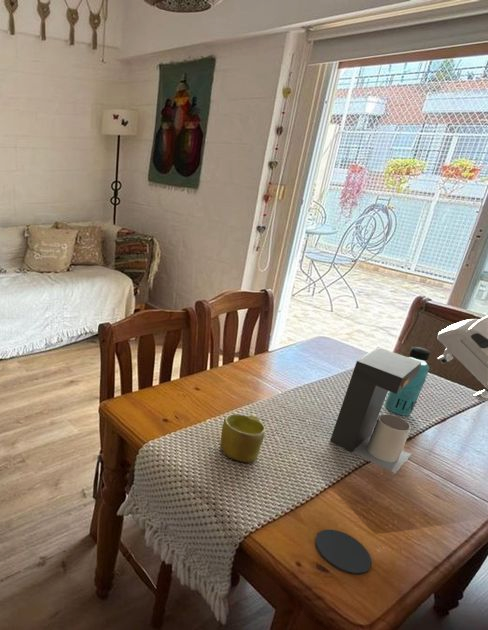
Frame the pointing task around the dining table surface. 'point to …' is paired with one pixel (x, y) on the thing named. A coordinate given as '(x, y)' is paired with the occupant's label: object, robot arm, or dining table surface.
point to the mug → (242, 437)
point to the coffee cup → (388, 437)
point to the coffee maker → (372, 401)
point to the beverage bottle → (410, 386)
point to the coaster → (343, 551)
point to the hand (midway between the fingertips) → (459, 377)
